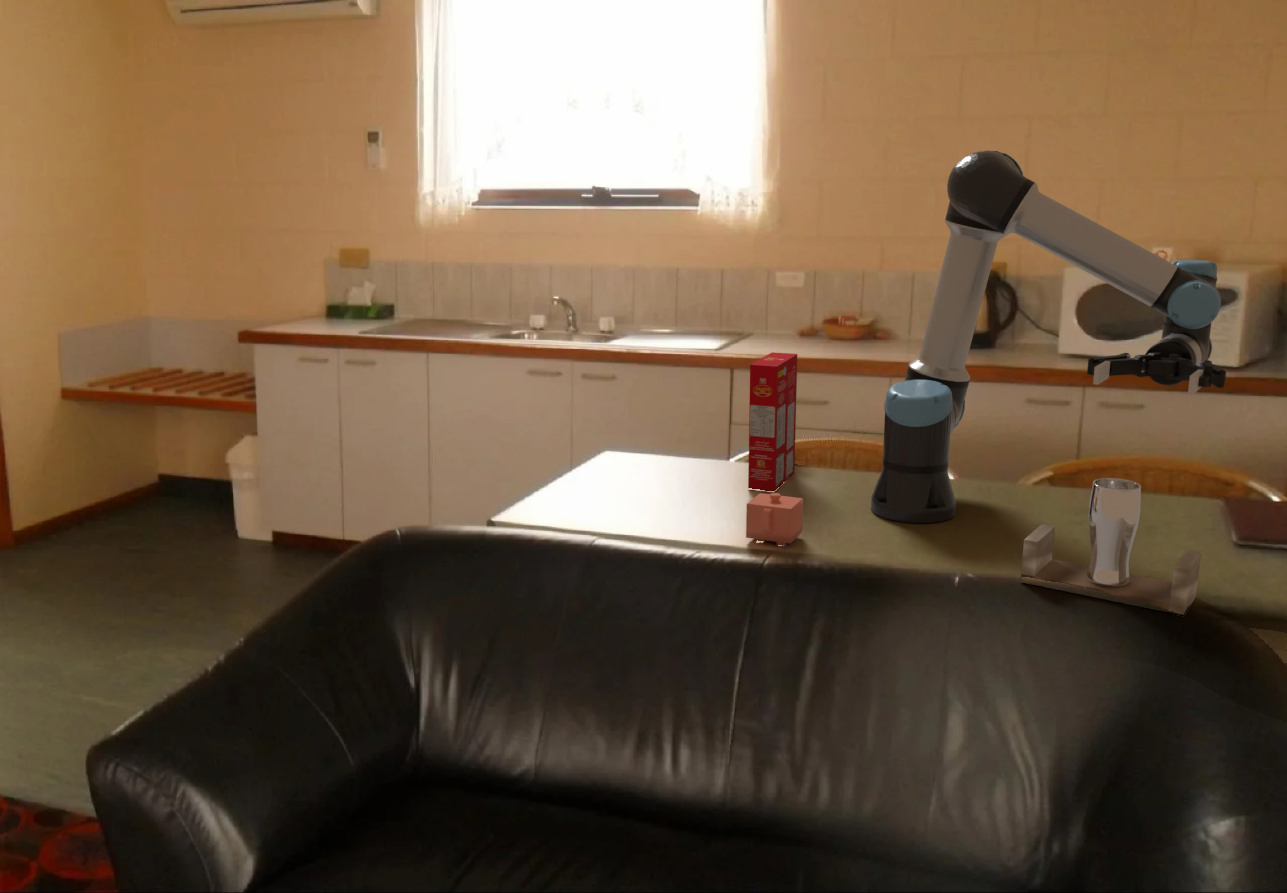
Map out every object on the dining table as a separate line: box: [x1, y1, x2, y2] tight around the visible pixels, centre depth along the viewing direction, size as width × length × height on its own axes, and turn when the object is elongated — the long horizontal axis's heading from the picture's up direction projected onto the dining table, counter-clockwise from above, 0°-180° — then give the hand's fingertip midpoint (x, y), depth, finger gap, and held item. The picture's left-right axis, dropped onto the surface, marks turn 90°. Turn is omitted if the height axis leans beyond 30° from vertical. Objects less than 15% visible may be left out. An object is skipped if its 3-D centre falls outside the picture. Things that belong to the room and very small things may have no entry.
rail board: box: [1020, 523, 1202, 616], centre depth 170 cm, size 23×9×7 cm, turn 55°
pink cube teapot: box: [745, 492, 804, 546], centre depth 193 cm, size 8×12×8 cm, turn 155°
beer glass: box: [1086, 477, 1142, 587], centre depth 168 cm, size 7×7×15 cm
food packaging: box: [747, 352, 798, 491], centre depth 225 cm, size 15×5×25 cm, turn 157°
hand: (1142, 380), depth 173 cm, fingers open, 13 cm apart
